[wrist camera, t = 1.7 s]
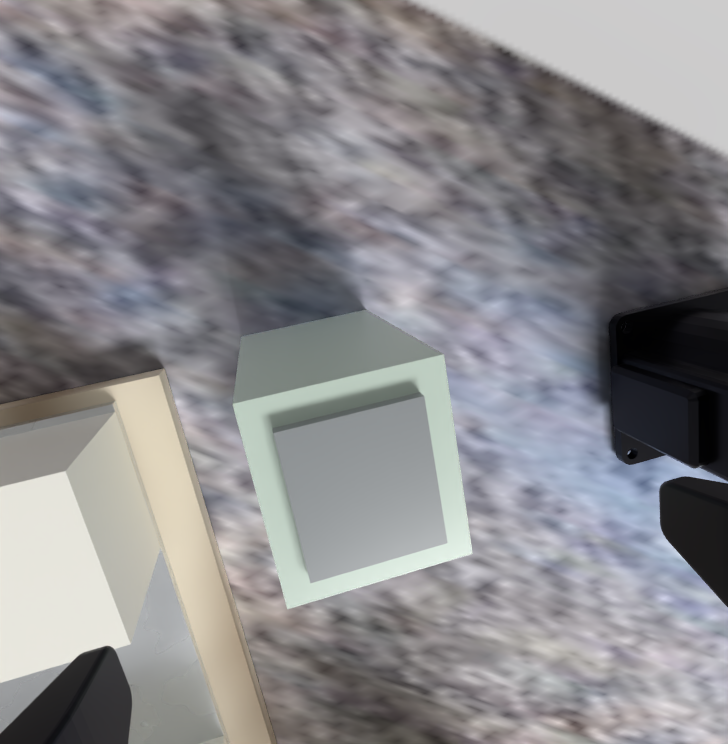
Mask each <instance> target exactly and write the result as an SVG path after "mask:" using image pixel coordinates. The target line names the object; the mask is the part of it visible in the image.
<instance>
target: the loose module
mask: <svg viewBox="0 0 728 744" xmlns="http://www.w3.org/2000/svg"><path fill="white" fill-rule="evenodd" d="M232 404H233V408H234V412H235V416H236V419H237V423H238V427H239V430H240V434H241V438H242V442H243V445H244V449H245V453H246V457H247V460H248V464H249V468H250V472H251V475H252V479H253V483H254V486H255V490H256V494H257V498H258V501H259V505H260V509H261V513H262V516H263V520H264V524H265V528H266V531H267V535H268V539H269V542H270V546H271V550H272V554H273V557H274V561H275V565H276V569H277V572H278V576H279V580H280V584H281V587H282V591H283V595H284V598H285V602H286V606H287V609H290V608H293V607H297V606H300V605H303V604H307V603H310V602H313V601H317V600H320V599H323V598H327V597H330V596H333V595H337V594H340V593H343V592H347V591H350V590H353V589H357V588H360V587H363V586H367V585H370V584H373V583H377V582H380V581H383V580H387V579H390V578H393V577H397V576H400V575H403V574H407V573H410V572H413V571H417V570H420V569H423V568H427V567H430V566H433V565H437V564H440V563H443V562H447V561H450V560H453V559H457V558H460V557H463V556H467V555H470V554H472V547H471V540H470V533H469V526H468V519H467V512H466V505H465V498H464V491H463V484H462V477H461V470H460V463H459V456H458V449H457V442H456V436H455V429H454V422H453V415H452V408H451V401H450V394H449V387H448V380H447V373H446V366H445V359H444V354H442V353H441V352H439V351H437V350H435V349H434V348H432V347H430V346H428V345H427V344H425V343H423V342H422V341H420V340H418V339H416V338H415V337H413V336H411V335H409V334H408V333H406V332H404V331H402V330H401V329H399V328H397V327H395V326H394V325H392V324H390V323H388V322H387V321H385V320H383V319H381V318H380V317H378V316H376V315H375V314H373V313H371V312H369V311H368V310H361V311H357V312H352V313H347V314H343V315H338V316H334V317H329V318H324V319H320V320H315V321H310V322H306V323H301V324H296V325H292V326H287V327H283V328H278V329H273V330H269V331H264V332H259V333H255V334H250V335H246V336H241V342H240V350H239V357H238V365H237V373H236V380H235V388H234V396H233V403H232Z"/></svg>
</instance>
